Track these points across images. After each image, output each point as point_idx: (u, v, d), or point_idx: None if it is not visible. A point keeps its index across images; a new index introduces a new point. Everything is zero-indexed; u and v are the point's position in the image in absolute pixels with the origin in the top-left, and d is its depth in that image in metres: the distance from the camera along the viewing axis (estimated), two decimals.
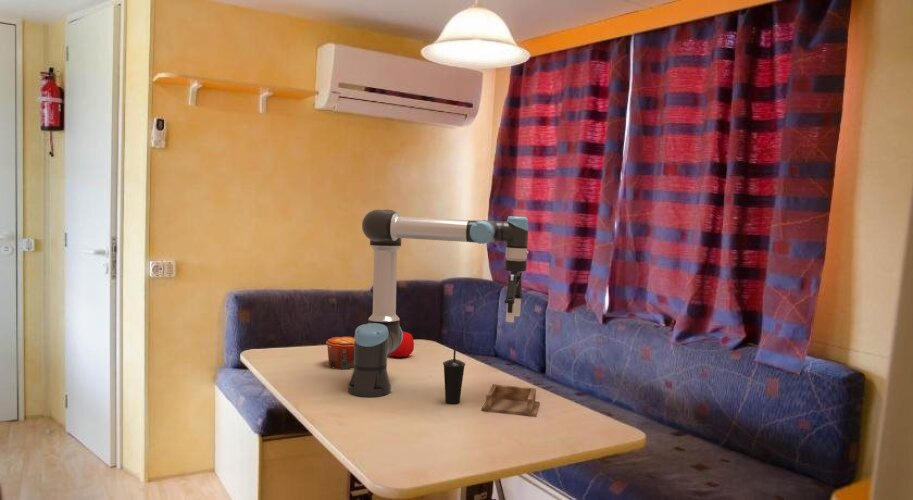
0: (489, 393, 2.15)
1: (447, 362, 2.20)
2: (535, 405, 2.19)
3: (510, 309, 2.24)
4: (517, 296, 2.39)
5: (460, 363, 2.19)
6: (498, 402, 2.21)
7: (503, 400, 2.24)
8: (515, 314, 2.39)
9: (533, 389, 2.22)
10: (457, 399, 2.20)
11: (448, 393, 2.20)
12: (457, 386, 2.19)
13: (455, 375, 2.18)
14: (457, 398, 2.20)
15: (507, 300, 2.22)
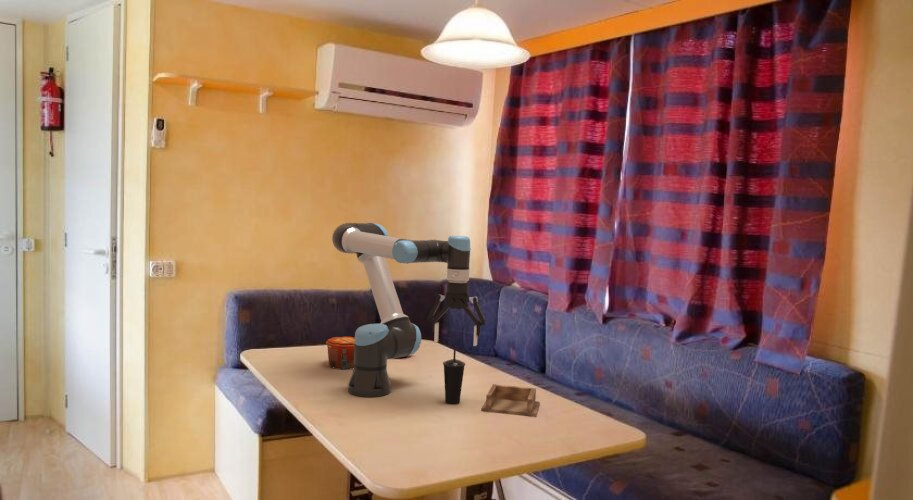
0: (489, 393, 2.15)
1: (447, 362, 2.20)
2: (535, 405, 2.19)
3: None
4: None
5: (460, 363, 2.19)
6: (498, 402, 2.21)
7: (503, 400, 2.24)
8: None
9: (533, 389, 2.22)
10: (457, 399, 2.20)
11: (448, 393, 2.20)
12: (457, 386, 2.19)
13: (455, 375, 2.18)
14: (457, 398, 2.20)
15: None
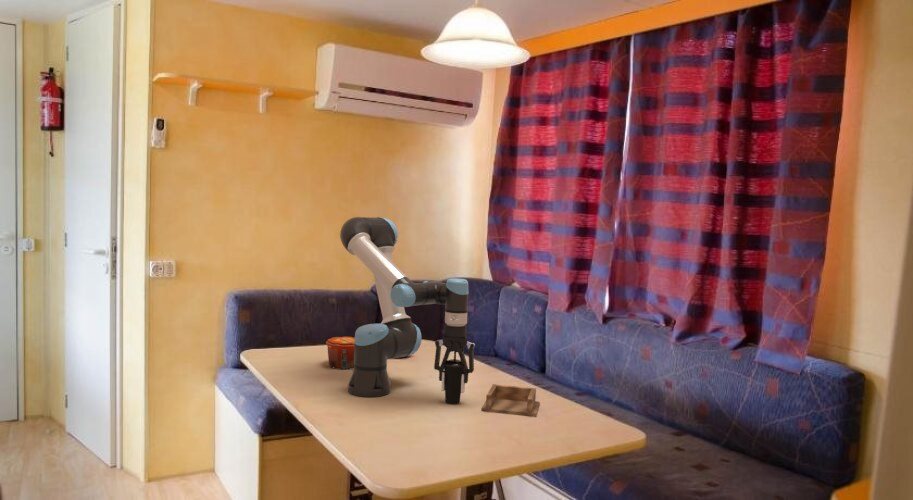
0: (489, 393, 2.15)
1: (447, 362, 2.20)
2: (535, 405, 2.19)
3: None
4: None
5: (460, 363, 2.19)
6: (498, 402, 2.21)
7: (503, 400, 2.24)
8: None
9: (533, 389, 2.22)
10: (457, 399, 2.20)
11: (448, 393, 2.20)
12: (457, 386, 2.19)
13: (455, 375, 2.18)
14: (457, 398, 2.20)
15: None
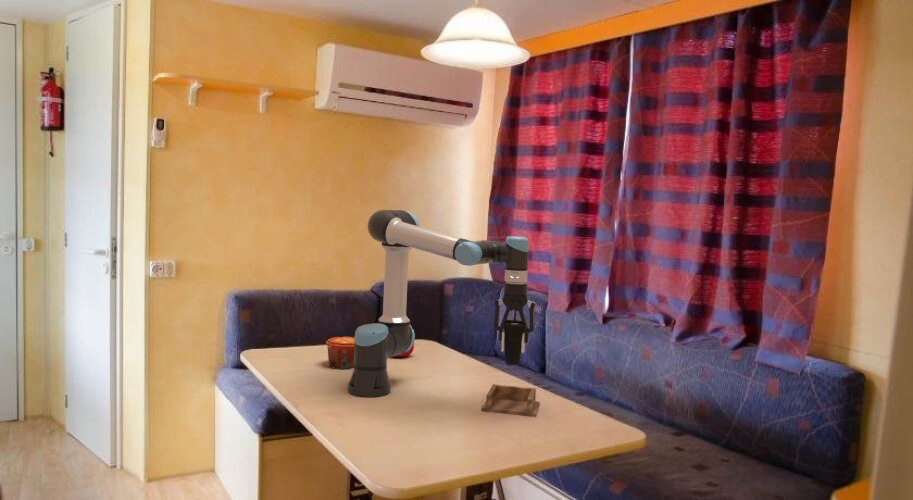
0: (489, 393, 2.15)
1: (508, 321, 2.16)
2: (535, 405, 2.19)
3: None
4: None
5: (521, 322, 2.15)
6: (498, 402, 2.21)
7: (503, 400, 2.24)
8: None
9: (533, 389, 2.22)
10: (517, 359, 2.16)
11: (508, 353, 2.15)
12: (517, 346, 2.15)
13: (516, 334, 2.14)
14: (517, 358, 2.16)
15: None
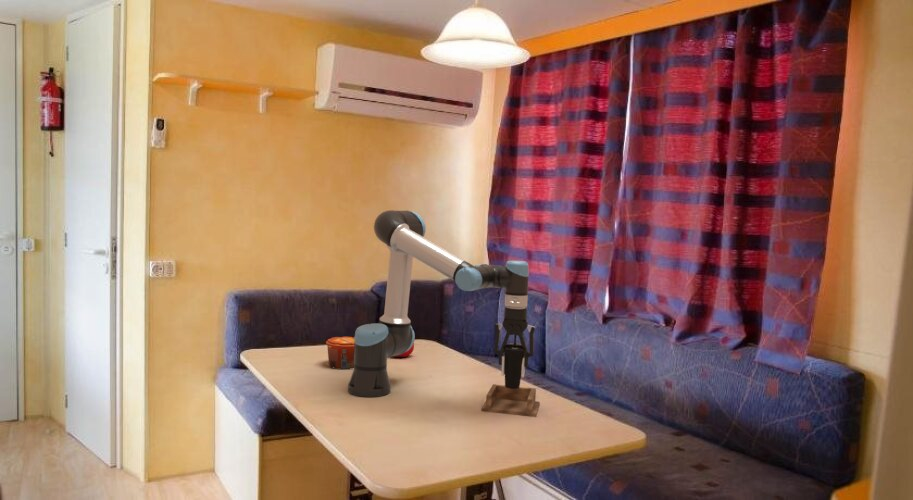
0: (489, 393, 2.15)
1: (508, 345, 2.16)
2: (535, 405, 2.19)
3: None
4: None
5: (521, 347, 2.16)
6: (498, 402, 2.21)
7: (503, 400, 2.24)
8: None
9: (533, 389, 2.22)
10: (517, 383, 2.16)
11: (508, 377, 2.16)
12: (517, 370, 2.15)
13: (516, 358, 2.15)
14: (517, 382, 2.16)
15: None
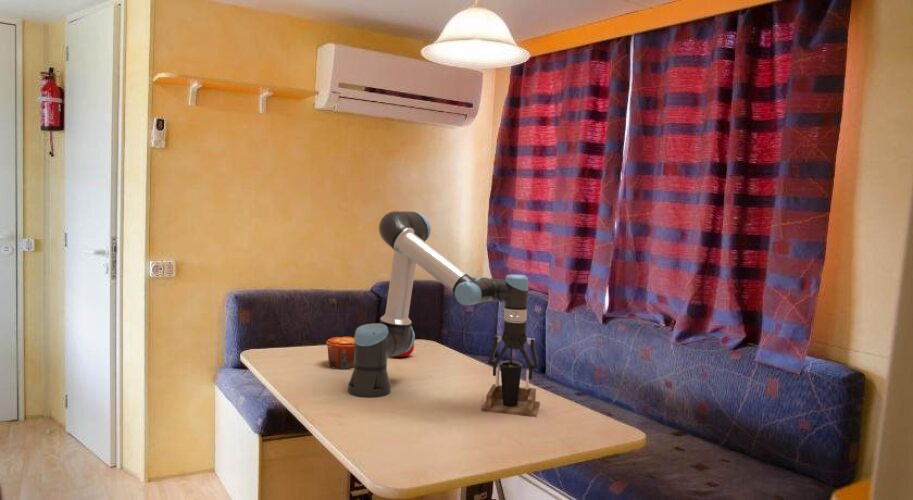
0: (489, 393, 2.15)
1: (504, 363, 2.17)
2: (535, 405, 2.19)
3: None
4: None
5: (517, 364, 2.16)
6: (498, 402, 2.21)
7: None
8: None
9: (533, 389, 2.22)
10: (515, 401, 2.17)
11: (506, 395, 2.17)
12: (515, 387, 2.16)
13: (512, 376, 2.15)
14: (515, 400, 2.17)
15: None
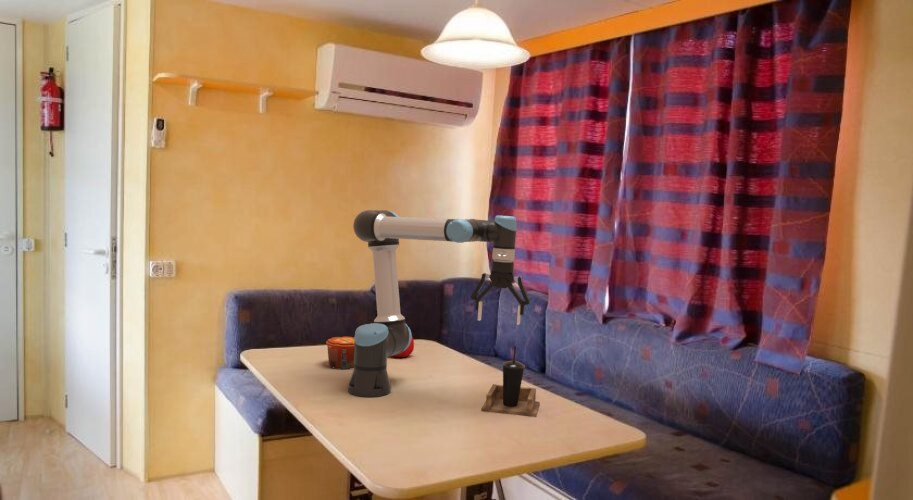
0: (489, 393, 2.15)
1: (507, 364, 2.16)
2: (535, 405, 2.19)
3: None
4: None
5: (520, 365, 2.16)
6: (498, 402, 2.21)
7: None
8: None
9: (533, 389, 2.22)
10: (515, 401, 2.17)
11: (506, 395, 2.16)
12: (516, 388, 2.16)
13: (514, 377, 2.15)
14: (515, 400, 2.17)
15: None
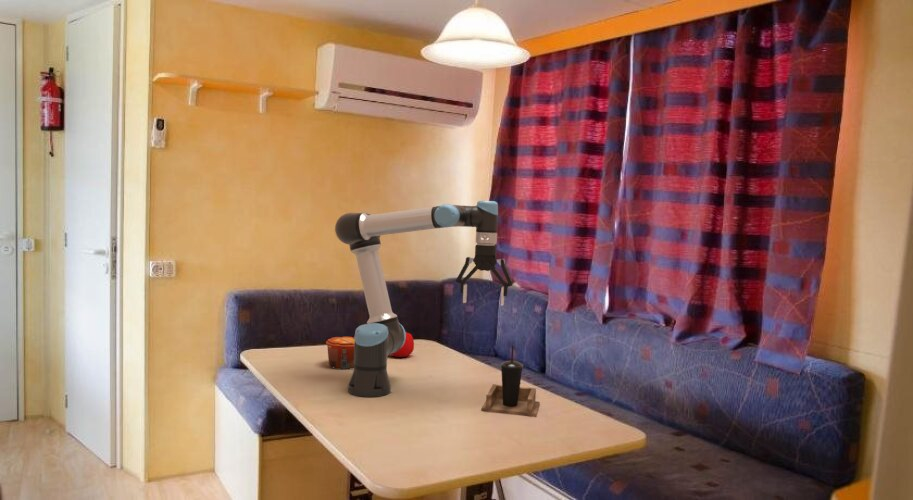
0: (489, 393, 2.15)
1: (505, 363, 2.17)
2: (535, 405, 2.19)
3: None
4: None
5: (518, 364, 2.16)
6: (498, 402, 2.21)
7: None
8: None
9: (533, 389, 2.22)
10: (515, 401, 2.17)
11: (506, 395, 2.17)
12: (515, 388, 2.16)
13: (513, 376, 2.15)
14: (515, 400, 2.17)
15: None
